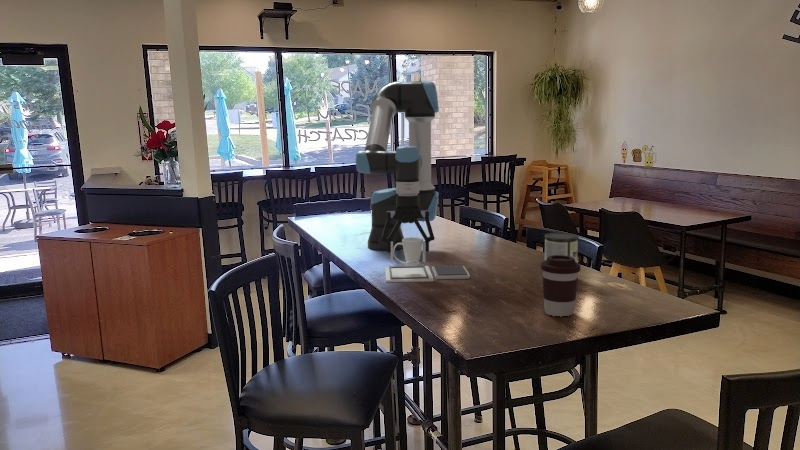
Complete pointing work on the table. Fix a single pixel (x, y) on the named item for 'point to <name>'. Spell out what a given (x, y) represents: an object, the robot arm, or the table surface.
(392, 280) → the board
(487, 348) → the table surface
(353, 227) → the table surface
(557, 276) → the coffee cup
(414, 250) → the cup
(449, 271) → the ink pad
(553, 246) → the coffee can
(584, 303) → the table surface
